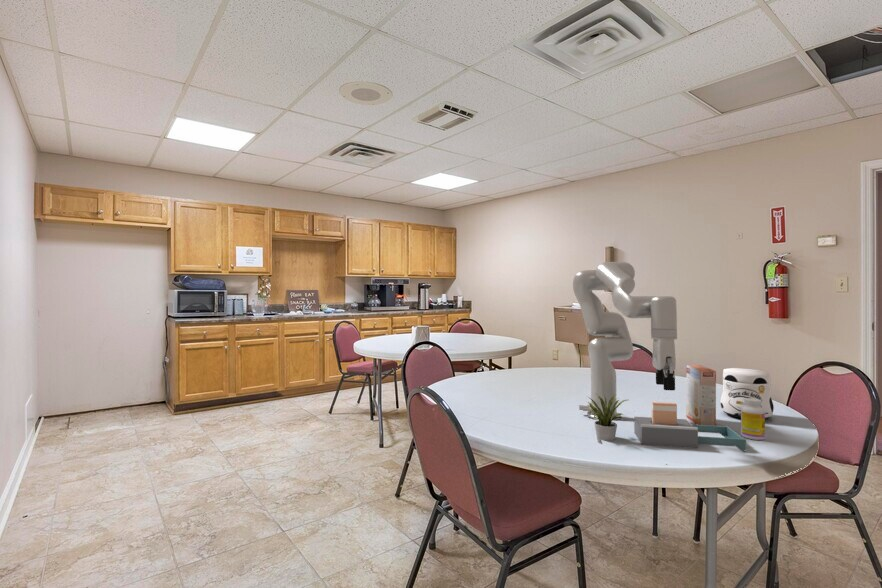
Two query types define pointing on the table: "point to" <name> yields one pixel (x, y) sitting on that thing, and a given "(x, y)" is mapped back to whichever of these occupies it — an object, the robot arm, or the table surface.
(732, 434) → the tray
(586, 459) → the table surface
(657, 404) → the peach slab cream top
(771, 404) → the milk container
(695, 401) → the cracker box
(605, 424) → the house plant
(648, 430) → the dispenser
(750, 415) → the supplement bottle
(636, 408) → the table surface
